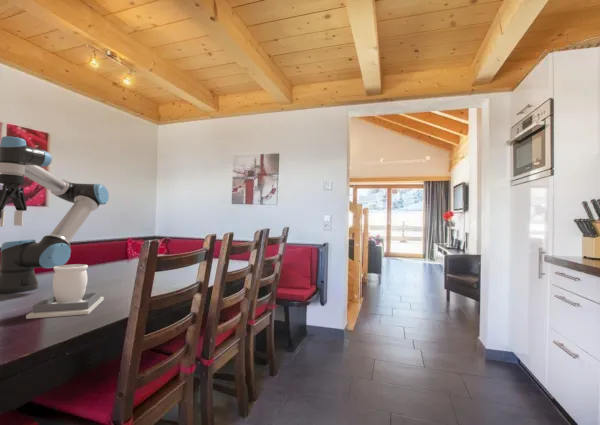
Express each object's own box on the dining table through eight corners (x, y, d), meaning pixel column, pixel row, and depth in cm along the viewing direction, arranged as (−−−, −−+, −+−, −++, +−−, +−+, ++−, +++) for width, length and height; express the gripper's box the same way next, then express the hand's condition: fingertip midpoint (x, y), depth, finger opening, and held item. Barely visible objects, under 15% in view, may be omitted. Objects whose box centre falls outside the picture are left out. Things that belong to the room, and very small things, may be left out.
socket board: (51, 302, 118) (52, 293, 118) (103, 299, 125) (104, 290, 125) (26, 318, 100) (26, 307, 100) (88, 314, 106) (88, 303, 106)
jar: (45, 309, 106) (47, 268, 107) (60, 301, 116) (62, 264, 117) (78, 308, 109) (80, 268, 109) (91, 300, 119) (92, 263, 119)
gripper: (17, 177, 130) (14, 225, 130) (-21, 169, 107) (-24, 226, 106) (38, 179, 133) (35, 225, 132) (5, 171, 109) (2, 227, 109)
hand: (9, 226), depth 119 cm, fingers open, 13 cm apart
